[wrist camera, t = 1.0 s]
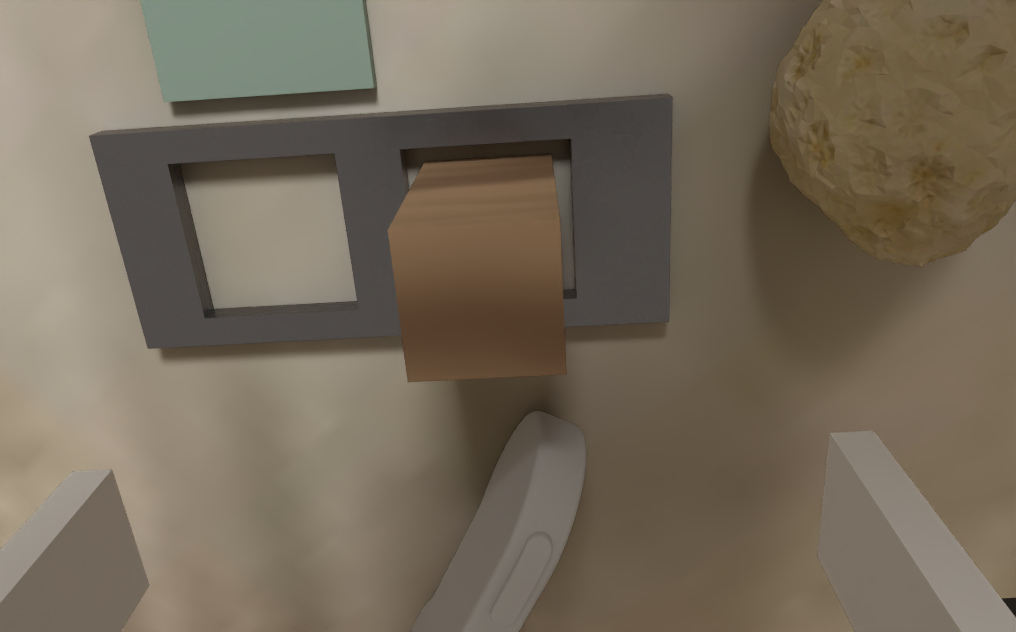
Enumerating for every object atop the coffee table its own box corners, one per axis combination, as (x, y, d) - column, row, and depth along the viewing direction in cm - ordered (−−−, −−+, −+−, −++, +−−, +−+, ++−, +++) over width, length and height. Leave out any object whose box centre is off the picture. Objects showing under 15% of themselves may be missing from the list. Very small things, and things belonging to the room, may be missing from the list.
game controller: (428, 682, 43) (407, 837, 35) (389, 669, 42) (359, 822, 35) (586, 394, 35) (602, 511, 28) (539, 375, 35) (542, 488, 27)
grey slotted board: (101, 130, 31) (88, 135, 30) (667, 93, 30) (672, 97, 29) (157, 338, 34) (147, 348, 34) (664, 311, 33) (668, 321, 33)
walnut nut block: (424, 161, 31) (387, 230, 23) (551, 153, 31) (560, 220, 23) (437, 279, 33) (408, 381, 25) (556, 273, 33) (566, 374, 25)
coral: (1264, 57, 22) (1065, 328, 22) (959, 96, 32) (812, 285, 31) (1114, -228, 19) (872, 77, 18) (824, -90, 29) (656, 115, 28)
